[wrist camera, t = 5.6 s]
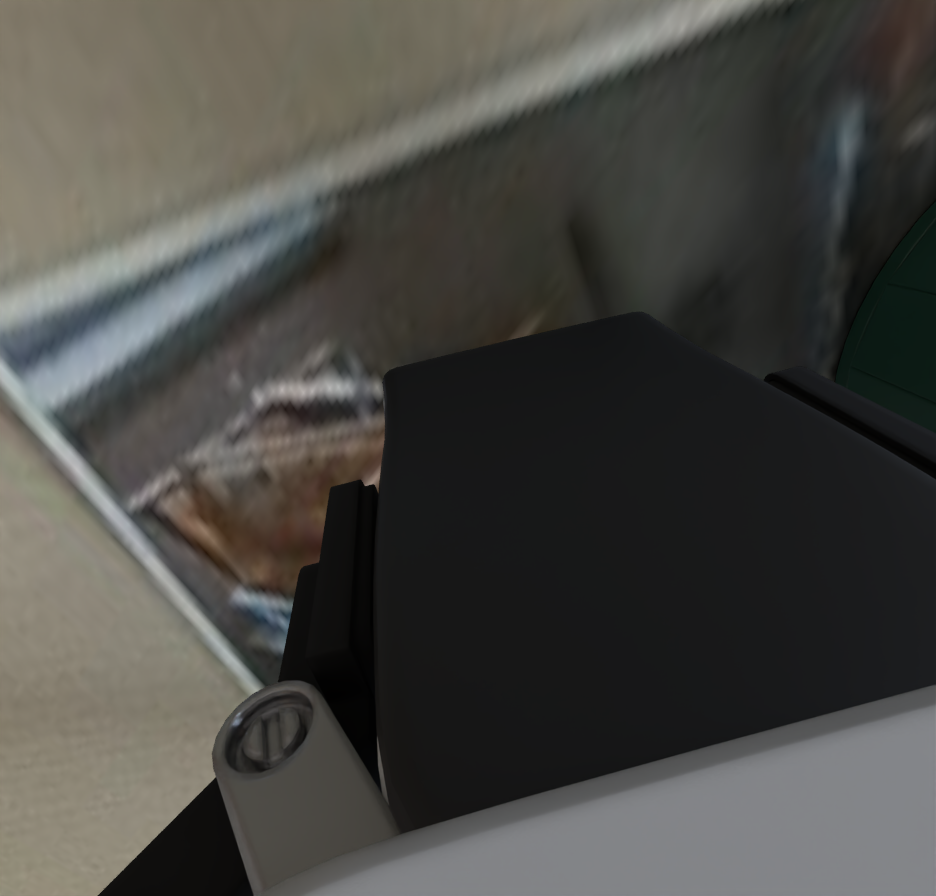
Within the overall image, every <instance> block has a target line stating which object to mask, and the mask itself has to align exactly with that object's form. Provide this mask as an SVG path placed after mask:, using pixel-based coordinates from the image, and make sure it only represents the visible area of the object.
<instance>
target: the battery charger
mask: <svg viewBox="0 0 936 896" xmlns="http://www.w3.org/2000/svg"><path fill="white" fill-rule="evenodd" d="M382 384H383V391H384V399H383V405H384V416H385V440H384V448H383V456H382V463H381V473H380V483H379V495H378V505H377V517H376V530H375V549H374V575H373V631H374V676H375V703H376V731H377V750H378V769H379V775H380V782H381V790H382V795H383V797H384V798H385V800H386V802H387V803H388V805H389V807H390V811H391V814H392V816H393V818H394V820H395V822H396V824H397V826H398V828H399V830H400V832H401V834H403V833H407V832H410V831H413V830H417V829H420V828H423V827H427V826H430V825H433V824H437V823H440V822H444V821H447V820H450V819H454V818H457V817H460V816H464V815H467V814H470V813H474V812H477V811H481V810H484V809H487V808H491V807H494V806H497V805H501V804H504V803H507V802H511V801H514V800H518V799H521V798H524V797H528V796H532V795H535V794H539V793H542V792H546V791H550V790H553V789H557V788H560V787H564V786H568V785H571V784H575V783H578V782H582V781H586V780H589V779H593V778H596V777H600V776H603V775H607V774H611V773H614V772H618V771H621V770H625V769H629V768H632V767H636V766H639V765H643V764H647V763H650V762H654V761H657V760H661V759H665V758H668V757H672V756H675V755H679V754H683V753H686V752H690V751H693V750H697V749H701V748H704V747H708V746H711V745H715V744H719V743H722V742H726V741H730V740H733V739H737V738H741V737H744V736H748V735H752V734H755V733H759V732H763V731H766V730H770V729H774V728H777V727H781V726H785V725H788V724H792V723H796V722H799V721H803V720H807V719H810V718H814V717H818V716H821V715H825V714H829V713H832V712H836V711H840V710H843V709H847V708H851V707H854V706H858V705H862V704H865V703H869V702H873V701H877V700H880V699H884V698H888V697H891V696H895V695H899V694H902V693H906V692H910V691H913V690H917V689H921V688H924V687H928V686H932V685H936V479H934V478H932V477H931V476H929V475H928V474H926V473H924V472H923V471H921V470H919V469H918V468H916V467H914V466H913V465H911V464H909V463H908V462H906V461H904V460H903V459H901V458H899V457H898V456H896V455H894V454H893V453H891V452H889V451H888V450H886V449H884V448H883V447H881V446H879V445H877V444H876V443H874V442H872V441H870V440H869V439H867V438H865V437H863V436H862V435H860V434H858V433H856V432H855V431H853V430H851V429H849V428H848V427H846V426H844V425H843V424H841V423H839V422H837V421H836V420H834V419H832V418H830V417H829V416H827V415H825V414H823V413H821V412H819V411H818V410H816V409H814V408H812V407H810V406H808V405H807V404H805V403H803V402H801V401H799V400H797V399H796V398H794V397H792V396H790V395H788V394H786V393H784V392H783V391H781V390H779V389H777V388H775V387H773V386H772V385H770V384H768V383H766V382H764V381H762V380H760V379H758V378H757V377H755V376H753V375H751V374H749V373H747V372H745V371H743V370H742V369H740V368H738V367H736V366H734V365H732V364H730V363H728V362H726V361H724V360H722V359H720V358H718V357H716V356H714V355H712V354H711V353H709V352H707V351H706V350H704V349H702V348H700V347H699V346H697V345H695V344H693V343H692V342H690V341H689V340H687V339H686V338H684V337H682V336H681V335H679V334H678V333H676V332H674V331H672V330H671V329H669V328H668V327H666V326H665V325H663V324H662V323H660V322H659V321H657V320H656V319H654V318H653V317H651V316H650V315H649V314H646V313H644V312H632V313H627V314H623V315H618V316H614V317H609V318H605V319H600V320H596V321H591V322H587V323H582V324H578V325H574V326H569V327H565V328H560V329H556V330H552V331H547V332H543V333H539V334H534V335H530V336H526V337H521V338H517V339H512V340H508V341H504V342H500V343H496V344H492V345H487V346H483V347H479V348H475V349H471V350H466V351H462V352H458V353H454V354H450V355H445V356H441V357H437V358H433V359H429V360H425V361H421V362H417V363H413V364H409V365H405V366H401V367H397V368H394V369H391V370H389V371H388V372H387V373H386V374H385V375H384V378H383V382H382Z"/></svg>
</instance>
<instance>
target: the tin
mask: <svg viewBox="0 0 936 896" xmlns="http://www.w3.org/2000/svg"><path fill="white" fill-rule="evenodd" d="M835 383H837V384H839V385H841V386H843V387H845V388H847V389H849V390H851V391H853V392H855V393H857V394H859V395H861V396H863V397H865V398H867V399H869V400H871V401H873V402H875V403H877V404H879V405H880V406H882V407H884V408H886V409H888V410H890V411H892V412H894V413H896V414H898V415H900V416H902V417H904V418H906V419H908V420H910V421H912V422H914V423H916V424H918V425H920V426H922V427H924V428H926V429H928V430H930V431H932V432H934V433H936V201H935V202H934V204H933V205H932V206H931V207H930V208H929V209H928V210H927V211H926V212H925V213H924V214H923V215H922V216H921V217H920V219H919V220H918V221H917V222H916V224H915V225H914V226H913V227H912V229H911V230H910V231H909V232H908V234H907V235H906V236H905V237H904V239H903V240H902V241H901V243H900V244H899V245H898V246H897V248H896V249H895V250H894V252H893V253H892V255H891V256H890V258H889V259H888V261H887V263H886V264H885V266H884V267H883V269H882V270H881V272H880V273H879V275H878V276H877V278H876V279H875V281H874V283H873V285H872V287H871V288H870V290H869V292H868V294H867V296H866V298H865V300H864V301H863V303H862V305H861V307H860V309H859V311H858V313H857V316H856V318H855V320H854V323H853V325H852V328H851V330H850V332H849V335H848V337H847V340H846V342H845V346H844V349H843V352H842V356H841V359H840V362H839V366H838V369H837V374H836V380H835Z"/></svg>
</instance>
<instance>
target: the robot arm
mask: <svg viewBox="0 0 936 896" xmlns="http://www.w3.org/2000/svg"><path fill="white" fill-rule="evenodd" d="M764 382H766V383H768V384H770V385H772V386H773V387H775V388H777V389H779V390H781V391H783V392H784V393H786V394H788V395H790V396H792V397H794V398H796V399H797V400H799V401H801V402H803V403H805V404H807V405H808V406H810V407H812V408H814V409H816V410H818V411H819V412H821V413H823V414H825V415H827V416H829V417H830V418H832V419H834V420H836V421H837V422H839V423H841V424H843V425H844V426H846V427H848V428H849V429H851V430H853V431H855V432H856V433H858V434H860V435H862V436H863V437H865V438H867V439H869V440H870V441H872V442H874V443H876V444H877V445H879V446H881V447H883V448H884V449H886V450H888V451H889V452H891V453H893V454H894V455H896V456H898V457H899V458H901V459H903V460H904V461H906V462H908V463H909V464H911V465H913V466H914V467H916V468H918V469H919V470H921V471H923V472H924V473H926V474H928V475H929V476H931V477H932V478H934V479H936V433H934V432H932V431H930V430H928V429H926V428H924V427H922V426H920V425H918V424H916V423H914V422H912V421H910V420H908V419H906V418H904V417H902V416H900V415H898V414H896V413H894V412H892V411H890V410H888V409H886V408H884V407H882V406H880V405H879V404H877V403H875V402H873V401H871V400H869V399H867V398H865V397H863V396H861V395H859V394H857V393H855V392H853V391H851V390H849V389H847V388H845V387H843V386H841V385H839V384H837V383H835V382H833V381H831V380H829V379H827V378H825V377H823V376H821V375H819V374H817V373H815V372H813V371H811V370H809V369H807V368H805V367H802V366H798V367H794V368H790V369H786V370H782V371H779V372H775V373H771V374H768V375H767V376H766V377H765V379H764ZM377 505H378V492H377V489H376V487H375V485H374V484H372V485H368V486H364V484H363V482H362V480H357V481H353V482H349V483H345V484H341V485H337V486H334V487H331V488H330V493H329V500H328V506H327V513H326V520H325V527H324V533H323V540H322V547H321V554H320V560H319V563H315V564H311V565H307V566H304V567H303V568H301V570H300V573H299V576H298V582H297V587H296V592H295V597H294V602H293V608H292V613H291V618H290V623H289V628H288V634H287V639H286V644H285V649H284V654H283V660H282V665H281V670H280V675H279V680H278V683H276V684H272V685H269V686H267V687H265V688H263V689H261V690H259V691H258V692H256V693H254V694H252V695H251V696H250V697H249V698H247V699H246V700H245V701H244V702H242V703H241V704H240V705H238V707H237V708H236V709H235V710H234V711H233V712H232V713H231V715H230V716H229V717H228V718H227V719H226V720H225V722H224V724H223V726H222V727H221V729H220V731H219V733H218V735H217V736H216V740H215V743H214V747H213V751H212V759H213V769H214V772H215V775H216V778H215V779H214V780H213V781H212V782H211V783H210V784H209V785H208V786H207V787H206V788H205V789H204V790H203V791H202V792H201V793H200V794H199V795H198V796H197V797H196V798H195V799H194V800H193V801H192V802H191V803H190V804H189V805H188V806H187V807H186V808H185V809H184V810H183V811H182V812H181V813H180V814H179V815H178V816H177V817H176V818H175V819H174V820H173V821H172V822H171V823H170V824H169V825H168V826H167V827H166V828H165V829H164V830H163V831H162V832H161V833H160V834H159V835H158V836H157V837H156V838H155V839H154V840H153V841H152V842H151V843H150V844H149V845H148V846H147V847H146V848H145V849H144V850H143V851H142V852H141V853H140V854H139V855H138V856H137V857H136V858H135V859H134V860H133V861H132V862H131V863H130V864H129V865H128V866H127V867H126V868H125V869H124V870H123V871H122V872H121V873H120V874H119V875H118V876H117V877H116V878H115V879H114V880H113V881H112V882H111V883H110V884H109V885H108V886H107V887H106V888H105V889H104V890H103V891H102V892H101V893H100V894H99V895H98V896H936V685H932V686H928V687H924V688H921V689H917V690H913V691H910V692H906V693H902V694H899V695H895V696H891V697H888V698H884V699H880V700H877V701H873V702H869V703H865V704H862V705H858V706H854V707H851V708H847V709H843V710H840V711H836V712H832V713H829V714H825V715H821V716H818V717H814V718H810V719H807V720H803V721H799V722H796V723H792V724H788V725H785V726H781V727H777V728H774V729H770V730H766V731H763V732H759V733H755V734H752V735H748V736H744V737H741V738H737V739H733V740H730V741H726V742H722V743H719V744H715V745H711V746H708V747H704V748H701V749H697V750H693V751H690V752H686V753H683V754H679V755H675V756H672V757H668V758H665V759H661V760H657V761H654V762H650V763H647V764H643V765H639V766H636V767H632V768H629V769H625V770H621V771H618V772H614V773H611V774H607V775H603V776H600V777H596V778H593V779H589V780H586V781H582V782H578V783H575V784H571V785H568V786H564V787H560V788H557V789H553V790H550V791H546V792H542V793H539V794H535V795H532V796H528V797H524V798H521V799H518V800H514V801H511V802H507V803H504V804H501V805H497V806H494V807H491V808H487V809H484V810H481V811H477V812H474V813H470V814H467V815H464V816H460V817H457V818H454V819H450V820H447V821H444V822H440V823H437V824H433V825H430V826H427V827H423V828H420V829H417V830H413V831H410V832H407V833H403V834H401V832H400V830H399V828H398V826H397V824H396V822H395V820H394V818H393V816H392V814H391V811H390V807H389V805H388V803H387V802H386V800H385V798H384V797H383V795H382V790H381V782H380V775H379V769H378V750H377V731H376V703H375V676H374V631H373V575H374V549H375V530H376V517H377Z"/></svg>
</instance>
